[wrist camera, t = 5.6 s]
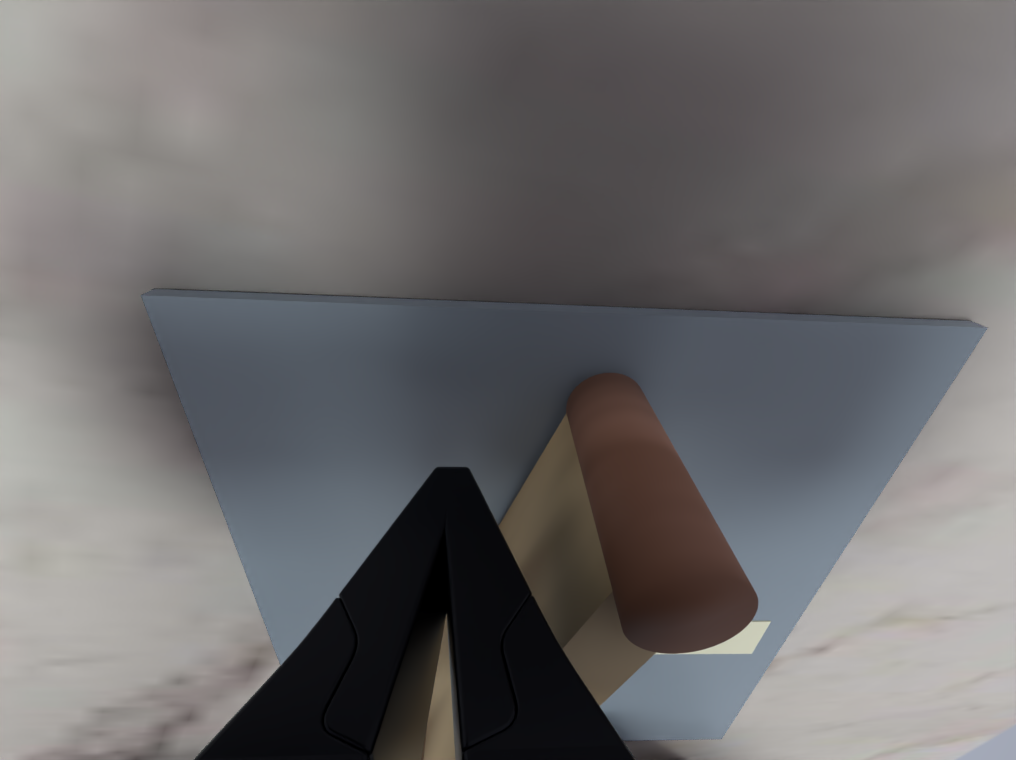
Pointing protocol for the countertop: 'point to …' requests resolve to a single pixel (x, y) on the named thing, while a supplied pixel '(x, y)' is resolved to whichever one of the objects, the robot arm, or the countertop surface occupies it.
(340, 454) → the board
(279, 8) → the countertop surface
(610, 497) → the rail
